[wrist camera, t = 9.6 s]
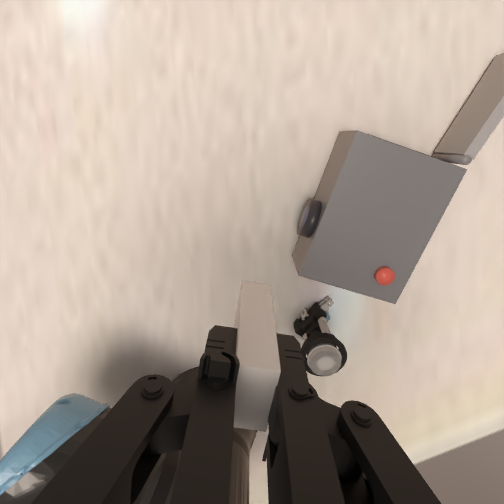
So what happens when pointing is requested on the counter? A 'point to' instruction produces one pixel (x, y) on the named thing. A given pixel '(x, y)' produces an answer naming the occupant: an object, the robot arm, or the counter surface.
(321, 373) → the push button
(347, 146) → the housing
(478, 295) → the counter surface
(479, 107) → the door
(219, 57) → the counter surface
